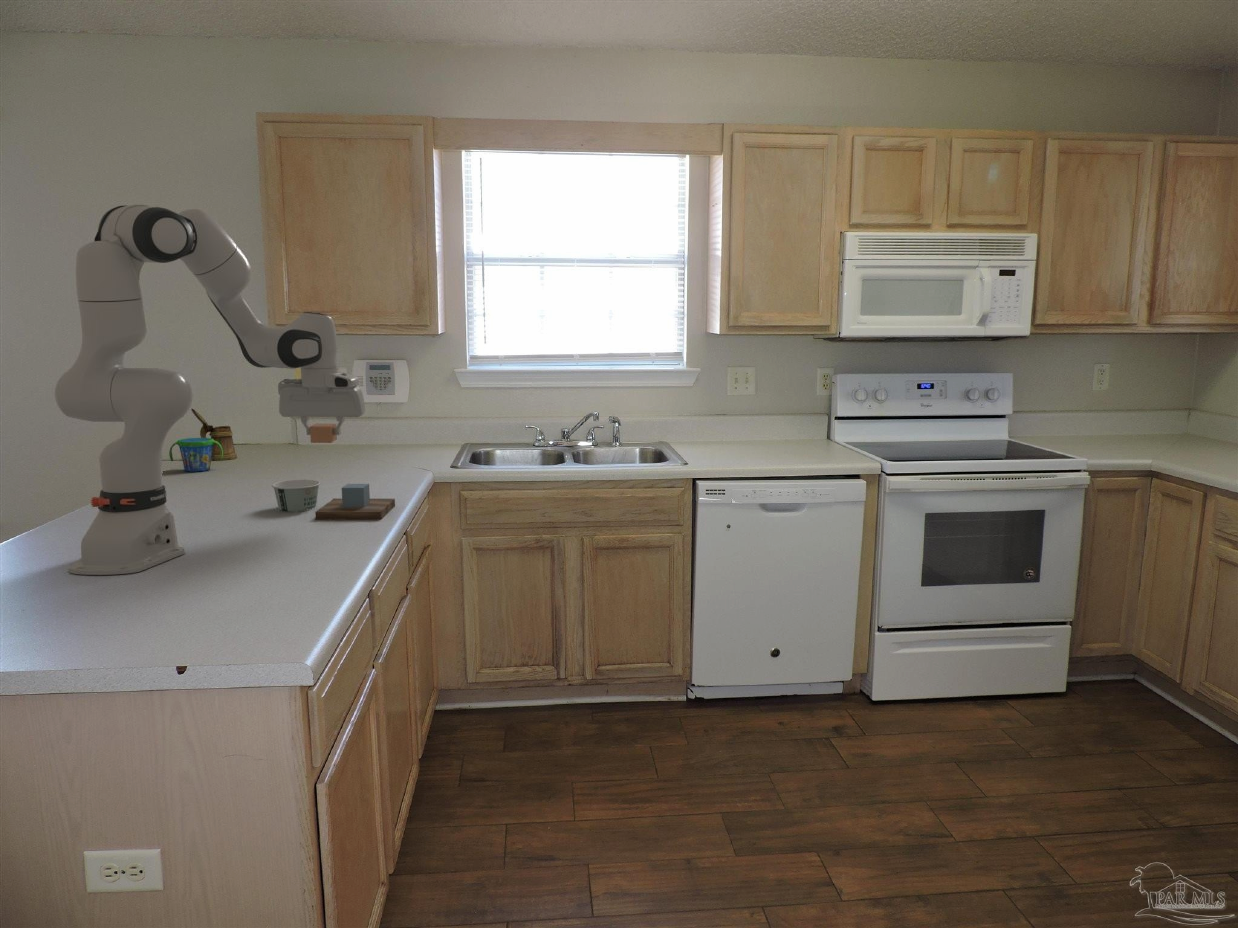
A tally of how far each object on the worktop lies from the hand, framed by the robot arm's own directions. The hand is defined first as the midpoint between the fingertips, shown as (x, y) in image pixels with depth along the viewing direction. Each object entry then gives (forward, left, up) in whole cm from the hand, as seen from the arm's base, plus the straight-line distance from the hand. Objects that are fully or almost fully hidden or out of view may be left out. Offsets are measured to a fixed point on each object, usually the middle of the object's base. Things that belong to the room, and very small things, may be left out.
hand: (323, 434), depth 216 cm
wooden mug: (+90, +65, -21) cm, 113 cm away
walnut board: (+4, -6, -21) cm, 22 cm away
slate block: (+4, -6, -19) cm, 20 cm away
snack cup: (+66, +61, -21) cm, 92 cm away
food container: (+10, +11, -21) cm, 25 cm away
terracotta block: (0, 0, -2) cm, 2 cm away
